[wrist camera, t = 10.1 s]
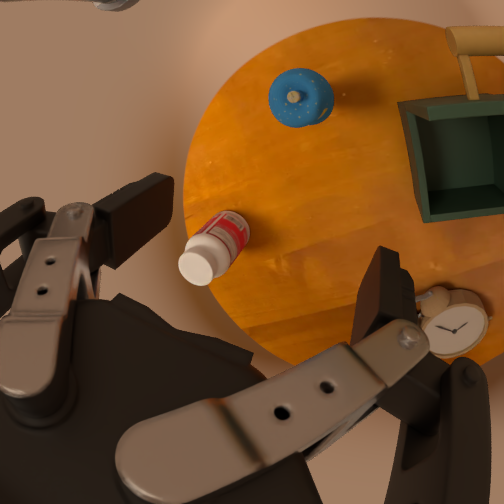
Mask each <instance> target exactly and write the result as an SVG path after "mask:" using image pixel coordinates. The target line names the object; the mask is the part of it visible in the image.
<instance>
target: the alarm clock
mask: <svg viewBox="0 0 504 504" xmlns="http://www.w3.org/2000/svg"><path fill="white" fill-rule="evenodd" d="M415 301H416V302H418V301H421V303H420V304H421V312H420V313H419V315H418V319H417V321H418V326H419V327H420V328H421V329H422V330H423V331H424V332H425V333H426V335H427V336H428V339H429V342H430V350H429V351H430V352H431V353H432V354H434V355H435V356H437V357H438V358H452V357H456V356H459V355H462V354H464V353H466V352H468V351H469V350H471V349H473V348H474V347H475V346H476V345H477V344H478V343H479V342H480V341H481V340H482V338H483V337H484V335H485V334H486V331H487V328H488V321H489V320H491V319H492V316H490V317H488V316H487V314H486V312H485V309H484V307H483V303H482V301H481V300H480V298H479V297H478V296H477V295H476V294H474V293H473V292H471V291H467V290H462V289H459V290H450V291H448V290H447V289H445V288H444V287H441V286H435V287H432V288H430V289H429V290H428V291H426V292H425V294H424V295H419V296H416V297H415Z"/></svg>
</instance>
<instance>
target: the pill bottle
mask: <svg viewBox="0 0 504 504" xmlns="http://www.w3.org/2000/svg"><path fill="white" fill-rule="evenodd" d="M249 237H250V229H249V226H248V224H247V222H246V221H245V219H244V218H243V217H242V216H240V215H239V214H237V213H235V212H232V211H222V212H219V213H217V214H216V215H215V216H213V217H212V218H211V219H210V220H209V221H208V222H207V223H206V224H205V225H204V226H203V227H202V228H201V229H200V230H199V231H198V232H196V233H195V234H194V235H193V236H192V237H191V238H190V239H189V241H188V242H187V244H186V247H185V252H184V253H183V254H182V255H181V257H180V259H179V263H178V265H179V270H180V272H181V273H182V275H183V276H184V278H185V279H186V280H188V281H189V282H190V283H192V284H195V285H199V286H203V285H207V284H209V283H210V282H211V281H212V279H213V278H216V277H219V276H221V275H223V274H224V273H225V272H226V271H227V270H228V268H229V267H230V266H231V264H232V263H233V262H234V260H235V259H236V258H237V256H238V255H239V254H240V252H241V251H242V249H243V248H244V247H245V245H246V244H247V242H248V240H249Z"/></svg>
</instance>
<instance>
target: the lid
mask: <svg viewBox="0 0 504 504" xmlns="http://www.w3.org/2000/svg"><path fill="white" fill-rule="evenodd" d="M446 39H447V42H448V46H449V48H450V51H451V52H452V54H453V55H454V56H455V57H457V59H458V63H459V66H460V70H461V74H462V78H463V82H464V86H465V90H466V95H467V96H462V97H450V98H440V99H431V100H422V101H414V102H407V103H404V104H405V108H406V111H407V112H410V113H412V114H414V115H417V116H419V117H422V118H424V119H426V120H429V121H435V120H445V119H454V118H465V117H478V116H493V115H504V94H496V95H479V94H478V89H477V85H476V81H475V77H474V73H473V69H472V65H471V62H470V58H469V56H504V26H452V27H446Z"/></svg>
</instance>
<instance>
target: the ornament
mask: <svg viewBox="0 0 504 504" xmlns="http://www.w3.org/2000/svg"><path fill="white" fill-rule="evenodd" d="M269 105H270V109H271V111H272V113H273V115H274V116H275V117H276V119H277V120H278V121H279V122H281V123H282V124H284V125H286V126H289V127H294V128H298V127H304V126H307V125H314V124H318V123H320V122H322V121H324V120H325V119H326V118H327V117H328V116H329V115H330V114H331V112H332V110H333V106H334V94H333V90H332V88H331V86H330V84H329V83H328V82H327V80H326V79H325V78H324V77H323V76H321V75H320V74H318V73H317V72H315V71H312V70H309V69H304V68H296V69H291V70H288V71H285V72H284V73H282V74H280V75H279V76H278V77H277V78H276V79H275V80H274V82H273V83H272V85H271V88H270V91H269Z"/></svg>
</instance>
